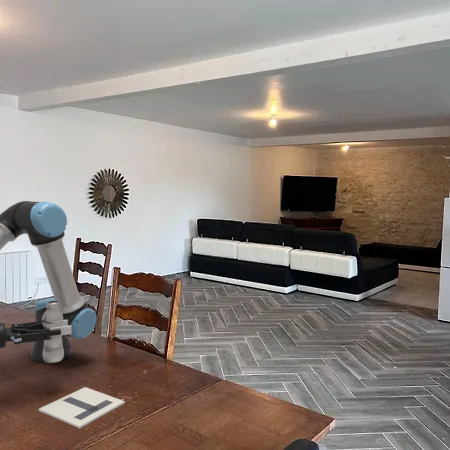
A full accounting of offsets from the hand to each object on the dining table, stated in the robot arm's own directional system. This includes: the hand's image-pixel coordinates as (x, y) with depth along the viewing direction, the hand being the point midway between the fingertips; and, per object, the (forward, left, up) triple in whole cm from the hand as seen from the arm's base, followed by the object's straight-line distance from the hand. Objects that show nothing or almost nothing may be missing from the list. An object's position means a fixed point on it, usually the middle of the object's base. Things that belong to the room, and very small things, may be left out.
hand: (69, 326), depth 148 cm
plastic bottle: (+4, -3, -11) cm, 12 cm away
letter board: (+6, +13, -21) cm, 26 cm away
